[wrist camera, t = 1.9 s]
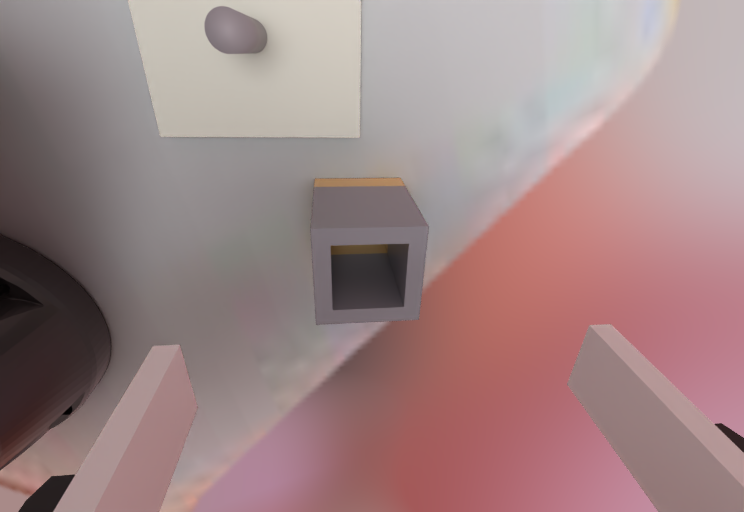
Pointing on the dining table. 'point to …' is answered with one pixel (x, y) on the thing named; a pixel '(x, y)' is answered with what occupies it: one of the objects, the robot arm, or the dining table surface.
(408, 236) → the sleeve
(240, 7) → the pin board
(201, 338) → the dining table surface
